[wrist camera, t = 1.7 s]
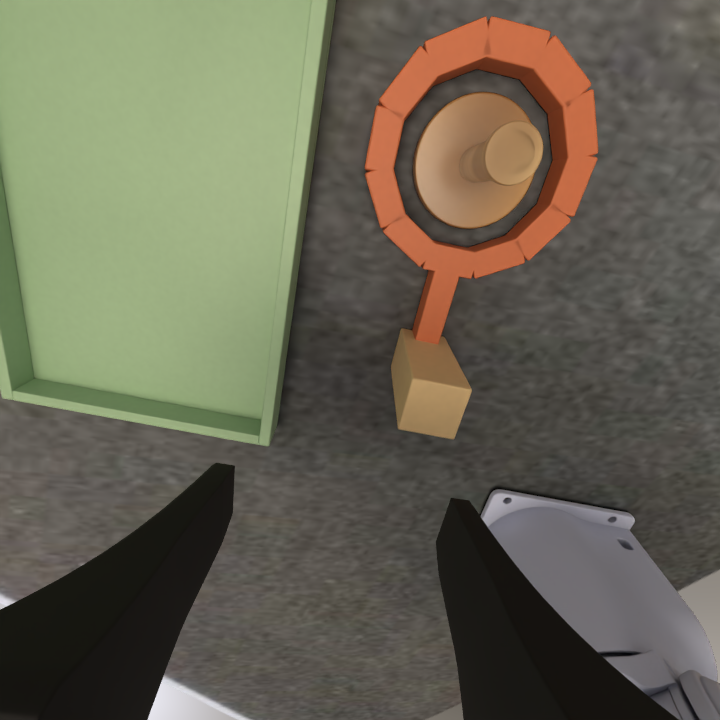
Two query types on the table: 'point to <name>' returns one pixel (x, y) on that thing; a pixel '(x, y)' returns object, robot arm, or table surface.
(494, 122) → the peg stand
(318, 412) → the table surface
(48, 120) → the tray
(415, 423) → the ring
